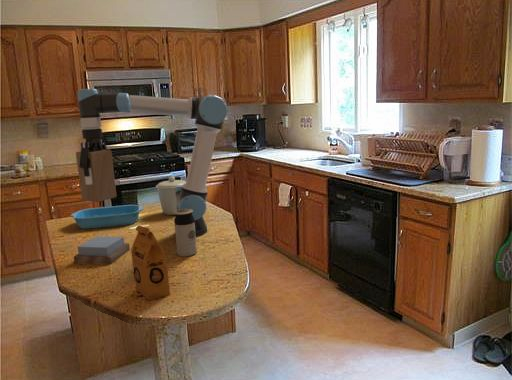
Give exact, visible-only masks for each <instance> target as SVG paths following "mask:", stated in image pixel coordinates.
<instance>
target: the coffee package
mask: <svg viewBox="0 0 512 380" xmlns="http://www.w3.org/2000/svg"><path fill="white" fill-rule="evenodd" d="M135 230H136V231H137V234H136V237H135V239H134V241H133V242H132V246H131V248H130V251H131V260H132V269H133V272H132V278H133V280H134V284H135V290H137V291H138V292H139V293H140V294H141V295H142V296H144V297H145V298H147V300H149V301H153V300H155V299H160V298H164V297H167V296H169V295H171V291H170V282H169V270H168V265H167V261H166V257H165V254H164V251H163V249H162V246H161V245H160V243H159V242H158V240H157V238H156V236H155V235H154V233H153V232H152V231H151V229H150V228H149V227H146V226H143V225H140V224H139V225H137V226H136V228H135Z"/></svg>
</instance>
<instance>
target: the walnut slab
mask: <svg viewBox="0 0 512 380" xmlns="http://www.w3.org/2000/svg"><path fill="white" fill-rule="evenodd" d="M129 251H131V248H130V242H129V243H127V242H124V246H122V247H121V248H119V249H118V250H116V251H115V252H113V253H112V254H110V255H109V256H90V255H79V254H78V253H77V254H76V255H74V256H73V261H74V264H78V265H79V264H80V265H81V264H82V265H84V264H85V265H86V264H87V265H92V264H95V265H96V264H97V265H111V264H113V263H116V261H118V260H119V259H120V258H122V257H123V255H124V256H125V254H126V253H128V252H129Z"/></svg>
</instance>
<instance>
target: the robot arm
mask: <svg viewBox="0 0 512 380" xmlns="http://www.w3.org/2000/svg"><path fill="white" fill-rule="evenodd" d="M77 102H78V111H79V116H80V117H79V118H80V123H81V124H80V127H81V128H82V130H81V133H82V135H81V136H82V138H83V139H84V140H85V142H81V143H80V151H81V155H80V164H79V167H81V168H83V169H84V176H85V182H86V185H92V184H93V180H92V172H91V168H89V167H90V159H89V158H88V152H95V151H98V150H108V147H107V145H106V140H105V139H102V138H103V130H102V128H101V127H102V120H101V113H102V114H105V113H106V114H107V113H129V114H146V115H147V114H148V115H161V116H173V117H174V116H176V117H188V119H189V120H194V126H196V128H197V130H196V133H195V140H194V142H193V149H192V152H191V158H190V163H189V168H188V172H187V177H186V180H185V181H186V183H185V184H184V185H182V186H177V187H176V188H175V194H176V205H177V210H179V209H192V210H193V212H192V215H193V217H194V223H195V234H196V237H199V236H201V235H204V234H206V233H207V232H208V225H207V223H206V221H205V219H204V217H203V216H204V215H205V214H206V211H207V198H208V193H209V190H208V189H207V187H206V186H207V181H208V177H209V173H210V168H211V163H212V159H213V153H214V149H215V144H216V141H217V135H218V133H219V132H221V131H222V129H223V126H224V125H223V124H224V121H225V120H226V118H227V115H228V105H227V103H226V102H225V100H224V99H223V98H221V97H220V96H218V95H215V94H214V95H213V94H209V95H205V96H202V97H201V96H200V97H194V96H193V97H192V96H191V97H188V98H174V97H161V96H149V95H148V96H146V95H133V94H132V95H131V94H129V93H127V92H112V93H111V92H110V93H99V91H98V90H97V89H96V88H81V89H78V91H77Z"/></svg>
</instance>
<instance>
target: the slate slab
mask: <svg viewBox="0 0 512 380" xmlns="http://www.w3.org/2000/svg"><path fill="white" fill-rule="evenodd" d="M124 239H125V238H124V236H94V237H93V238H90V239H89V240H88V241H85V242H84V243H82V244H80V245H79V246H77V252H78V253H77V254H79V255H90V256H109V255H110V254H112V253H113V252H115V251H116V250H118V249H119V248H121V247H122V246H124V243H125V240H124Z"/></svg>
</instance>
